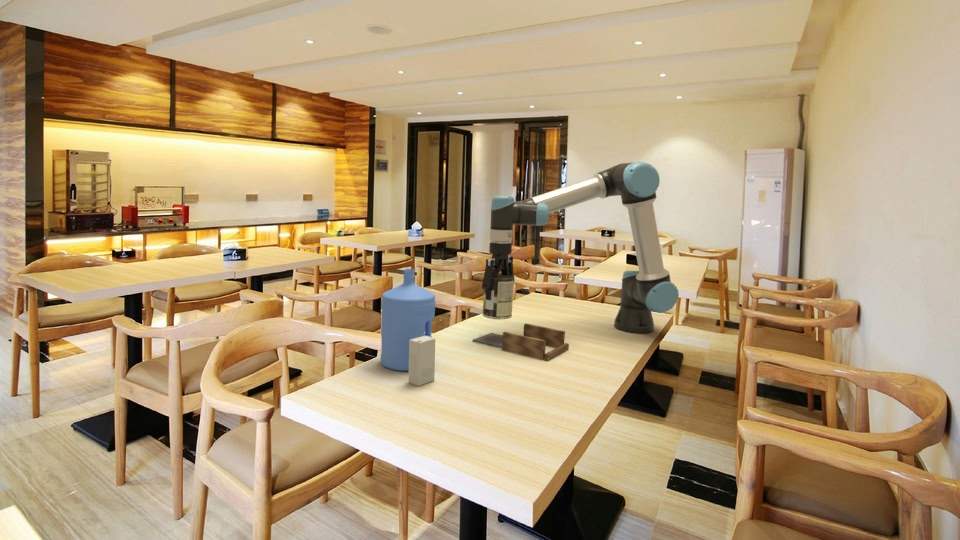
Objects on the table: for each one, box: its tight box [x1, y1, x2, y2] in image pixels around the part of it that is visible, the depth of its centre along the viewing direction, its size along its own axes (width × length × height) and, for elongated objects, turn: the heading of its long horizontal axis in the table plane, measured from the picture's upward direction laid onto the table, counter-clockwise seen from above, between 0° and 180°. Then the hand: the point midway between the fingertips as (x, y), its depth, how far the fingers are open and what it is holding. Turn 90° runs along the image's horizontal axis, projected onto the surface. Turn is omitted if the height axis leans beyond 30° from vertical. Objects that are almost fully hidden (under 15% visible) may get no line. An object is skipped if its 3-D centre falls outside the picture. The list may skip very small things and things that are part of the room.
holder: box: [501, 323, 570, 362], centre depth 172 cm, size 17×15×6 cm
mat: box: [472, 332, 503, 349], centre depth 181 cm, size 12×12×1 cm
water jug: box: [380, 268, 436, 372], centre depth 153 cm, size 16×16×28 cm
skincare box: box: [407, 336, 436, 387], centre depth 140 cm, size 6×4×12 cm
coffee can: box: [481, 272, 515, 320], centre depth 179 cm, size 10×10×14 cm
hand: (497, 306), depth 179 cm, fingers closed on coffee can, 10 cm apart
